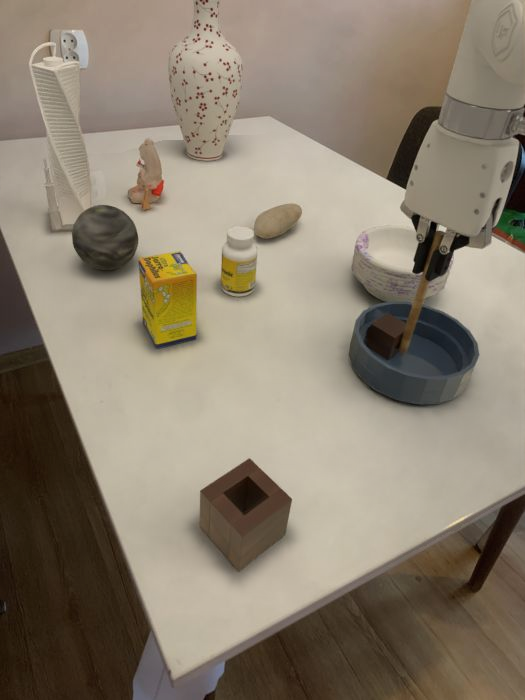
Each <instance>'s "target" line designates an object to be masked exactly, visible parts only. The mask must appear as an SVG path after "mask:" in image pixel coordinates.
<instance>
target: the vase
mask: <svg viewBox="0 0 525 700" xmlns="http://www.w3.org/2000/svg"><path fill="white" fill-rule="evenodd" d="M220 3H221V0H193V17H192V21H191V26H190V29H189V31H188V33H187V35H185V37H183V38H182V39H181V40H179V41H178V42H177V43H176V44H174V45H172V48H171V49H170V51H169V54H168V65H167V66H168V67H167V71H168V72H167V73H168V81H169V91H170V99H171V103H172V106H173V109H174V112H175V116H176V118H177V122H178V126H179V129H180V131H181V136H182V138H183V142H184V145H185V148H186V155H187V157H189V158H191V159H194V160H197V161H202V162H203V161H204V162H206V161H207V162H208V161H209V162H211V161H216V160H219V159H221V158H222V157H223V154H224V153H223V152H224V148H225V145H226V142H227V139H228V137H229V134H230V131H231V129H232V128H231V127H232V125H233V122H234V119H235V116H236V114H237V111H238V107H239V104H240V101H241V95H242V86H243V77H244V70H243V69H244V68H243V60H242V57H241V55H240V54H239V51H238V49H237V48H236V47H234V46H233V45H232V44H231V43H230V42H229V41H228V40H227V39H226V37H225V36H224V34H223V32H222V27H221V23H220Z"/></svg>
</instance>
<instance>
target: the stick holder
mask: <svg viewBox="0 0 525 700" xmlns="http://www.w3.org/2000/svg"><path fill="white" fill-rule="evenodd" d="M292 503H293V498H292V497H291V496H290V495H289V494H287V492H286V491H284V489H282V488H281V486H279V485H278V484H277V483H276V482H275V481H274V480H273V479H272V477H270V476H269V475H268V474H267V473H266V472H265V471H264V470H263V469H262V468H260V467H259V465H257V464H256V463H255V462H254V461H253V459H251V458H247V459H246V460H244V461H243V462H241V463H240V464H238V465H237V466H235V467H234V468H232V469H231V470H229V471H228V472H226V473H225V474H223V475H221V476H220V477H218V478H217V479H215V480H214V481H212V482H211V483H209V484H208V485H206V486H205V487H203V488H201V489H200V491H199V528H200V529H201V530H202V531H203V532H204V533H205V534H206V536H207V537H208V538H209V539H210V541H212V543H213V544H214V545H215V546H216V547H217V549H218V550H220V552H221V553H222V554H223V555H224V557H225V558H226V559H227V560H228V561H229V562H230V563H231V564H232V566H233V567H234V568H235V569H236V570H237V571H238V572H240V571H241V570H243V569H244V568H246V566H248V565H249V564H250V563H252V562H253V561H254V560H255V559H256V558H258V557H259V556H261V555H262V554H263V553H264V552H266V551H267V550H268V549H269V548H271V546H273V545H274V544H275V543H277V542H278V541H279V540H280V539H281V538H283V537H284V536H286V532H287V527H288V523H289V519H290V518H289V517H290V512H291V509H292Z"/></svg>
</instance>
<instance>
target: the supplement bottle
mask: <svg viewBox="0 0 525 700" xmlns="http://www.w3.org/2000/svg"><path fill="white" fill-rule="evenodd" d="M254 241H255V231H254V230H252V229H251V228H249V227H246V226H243V225H242V226H239V225H237V226H232V227H230V228H229V229H228V230H227V232H226V242H225V243H224V244H223V245H222V246H221V247H222V248H221V264H220V265H221V267H220V269H221V270H220V287H221V290H222V291H223V292H224V293H225V294H227V295H229V296H231V297H245V296H248V295H250V294H252V293H253V292H254V291H255V288H256V278H257V277H256V276H257V262H258V247H257V246H256V244H255V243H254Z"/></svg>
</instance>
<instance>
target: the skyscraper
mask: <svg viewBox="0 0 525 700" xmlns="http://www.w3.org/2000/svg"><path fill="white" fill-rule="evenodd" d="M50 46H51V47H53V49H52V50H53V52H52V56H46V57H43V58H42V60H43V61H40V62H36V63H33V60H34V57H35V55H36V53H38V51H40V50H41V49H43V48H47V47H50ZM56 55H57V43H56V42H54V41H48V42H45V43H41V44H39V45H38V46H36V47H35V48H34V50H33V51H32V53H31V55H30V57H29V61H28V67H29V68H28V69H29V71H30V76H31V79H32V83H33V87H34V91H35V96H36V99H37V104H38V106H39V110H40V113H41V116H42V119H43V122H44V126H45V129H46V144H47V145H46V146H47V152H48V161H49V167H48V164H47V159H46V157H43V164H44V168H43V171H44V175H45V183H44V187H45V193H46V199H47V204H48V212H49V218H50V225H51V233H61V232H63V233H64V232H65V233H66V232H72V229H73V226H74V223H75V221H76V220H77V218H78V217H79V215H80V214H81V213H82V212H84V211H85V210H87V209H88V208H91V207H93V196H92V195H93V194H92V179H91V178H92V177H91V169H90V168H91V167H90V162H89V155H88V150H87V146H86V142H85V138H84V135H83V131H82V127H81V125H80V117H81V116H80V115H81V114H80V113H81V64H80V62H79V61H78V60H71V61H70V60H69V61H67V62H65V61H64V58H62V57H59V56H56ZM51 178H52V179H51Z"/></svg>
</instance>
